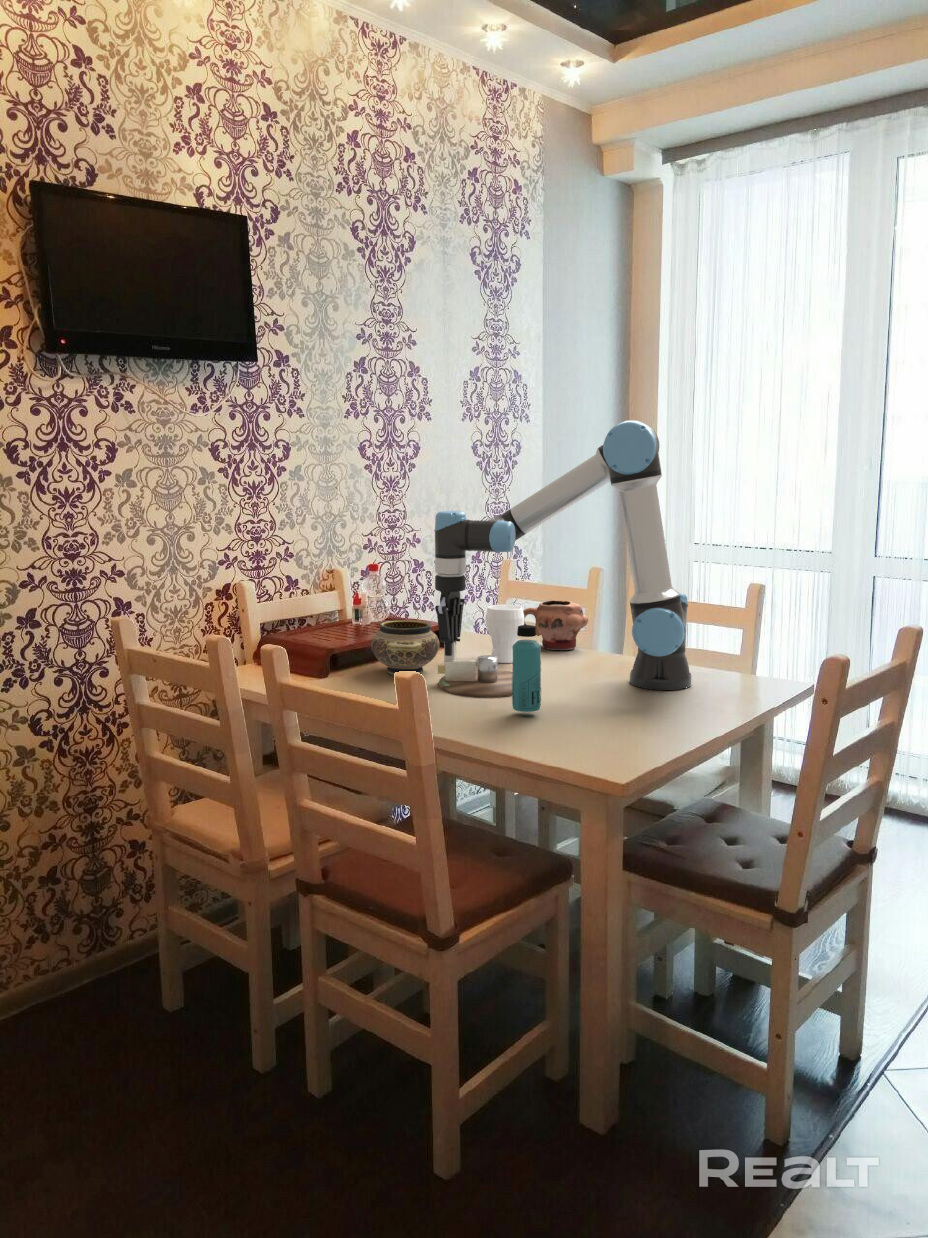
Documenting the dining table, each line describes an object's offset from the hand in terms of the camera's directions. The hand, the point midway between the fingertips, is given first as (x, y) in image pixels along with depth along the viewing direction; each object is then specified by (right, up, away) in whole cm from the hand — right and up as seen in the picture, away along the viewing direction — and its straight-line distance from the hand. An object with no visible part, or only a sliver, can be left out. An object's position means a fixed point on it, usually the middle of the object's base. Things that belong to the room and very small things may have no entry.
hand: (450, 667), depth 234 cm
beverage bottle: (+17, -9, -28) cm, 34 cm away
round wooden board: (+9, -4, -2) cm, 10 cm away
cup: (+15, 0, +26) cm, 30 cm away
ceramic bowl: (-12, -2, +12) cm, 17 cm away
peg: (+4, -3, -2) cm, 6 cm away
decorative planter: (+30, +3, +42) cm, 52 cm away
